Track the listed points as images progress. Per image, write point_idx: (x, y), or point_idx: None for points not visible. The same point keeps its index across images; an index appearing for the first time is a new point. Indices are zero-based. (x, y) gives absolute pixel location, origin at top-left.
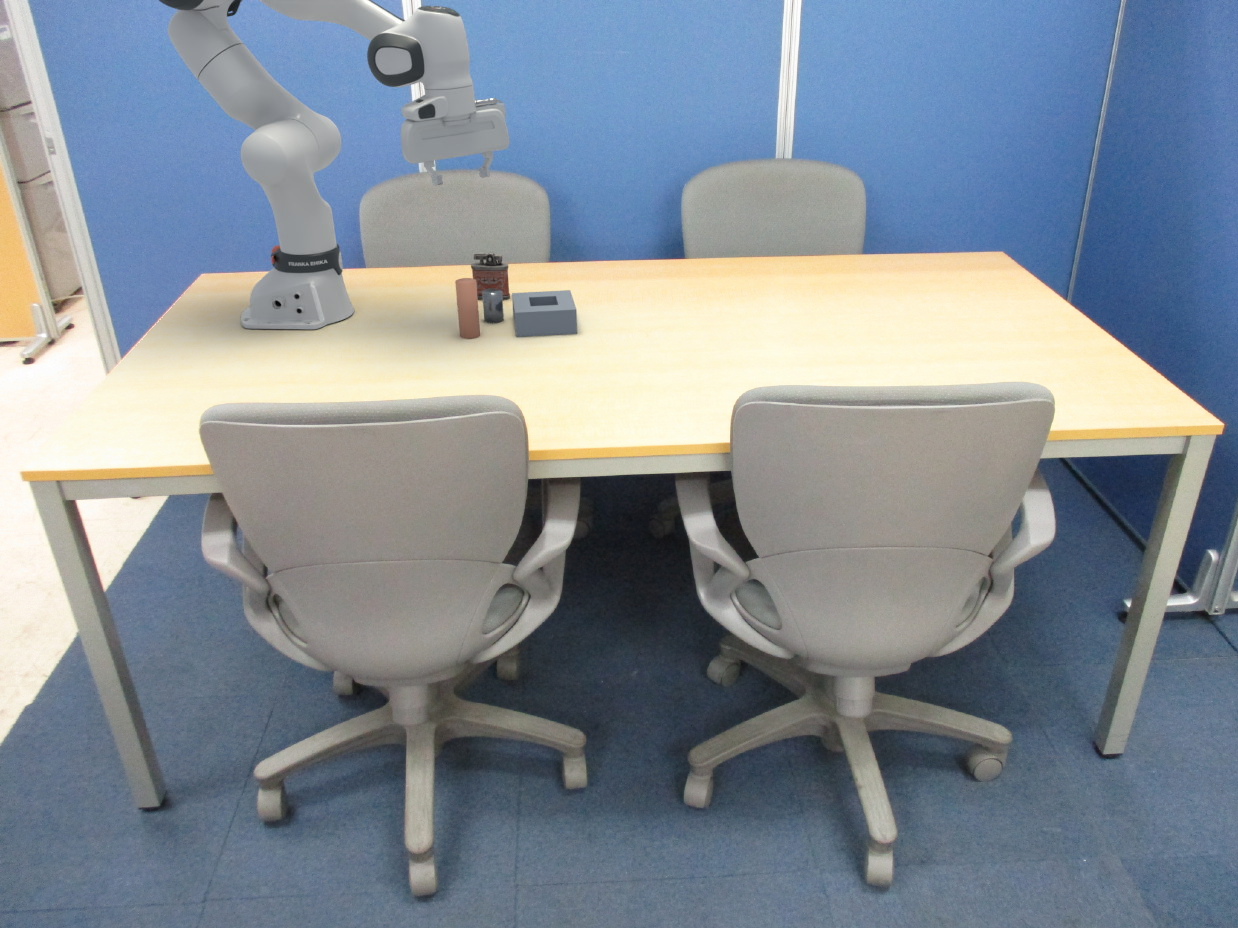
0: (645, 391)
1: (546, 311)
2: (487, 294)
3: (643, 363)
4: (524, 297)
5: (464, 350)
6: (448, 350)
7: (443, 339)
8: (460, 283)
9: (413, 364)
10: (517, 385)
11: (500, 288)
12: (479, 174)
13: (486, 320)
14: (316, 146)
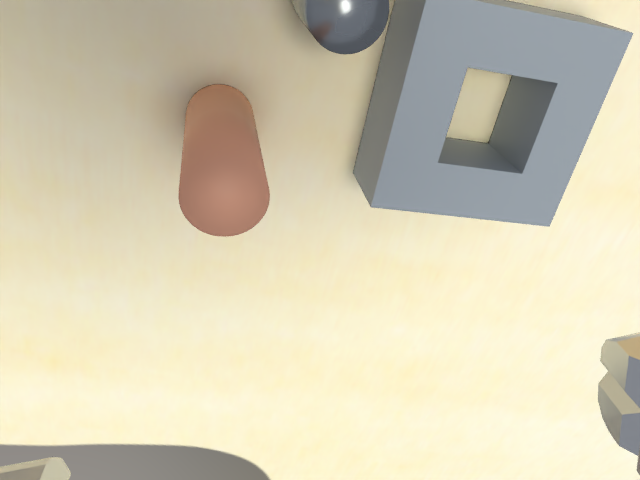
0: (487, 473)
1: (465, 216)
2: (321, 39)
3: (551, 378)
4: (453, 63)
5: (188, 230)
6: (141, 219)
7: (129, 129)
8: (198, 220)
9: (37, 288)
10: (278, 426)
11: None
12: (622, 350)
13: (296, 12)
14: None
